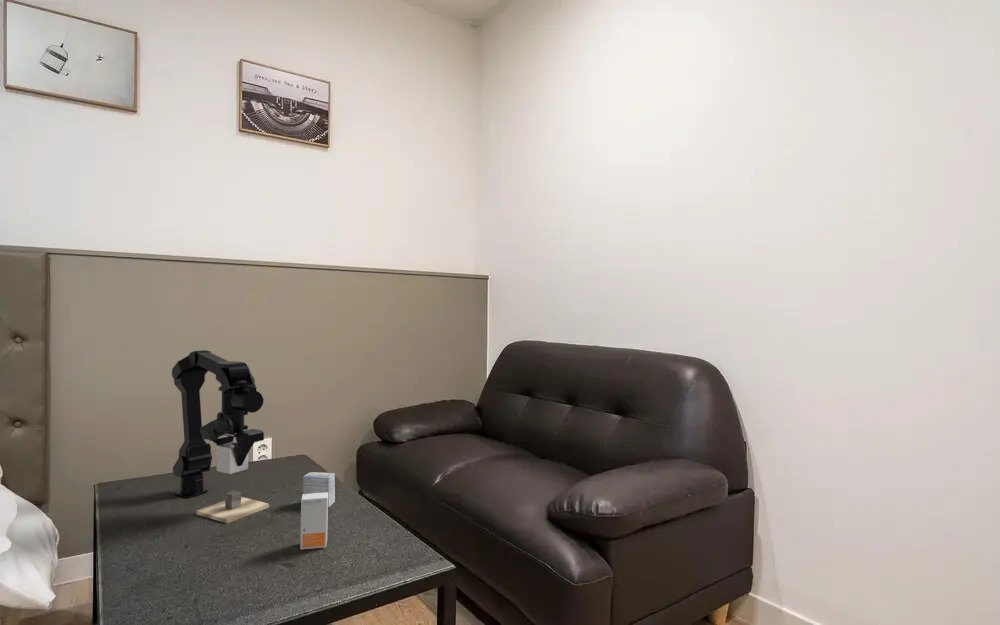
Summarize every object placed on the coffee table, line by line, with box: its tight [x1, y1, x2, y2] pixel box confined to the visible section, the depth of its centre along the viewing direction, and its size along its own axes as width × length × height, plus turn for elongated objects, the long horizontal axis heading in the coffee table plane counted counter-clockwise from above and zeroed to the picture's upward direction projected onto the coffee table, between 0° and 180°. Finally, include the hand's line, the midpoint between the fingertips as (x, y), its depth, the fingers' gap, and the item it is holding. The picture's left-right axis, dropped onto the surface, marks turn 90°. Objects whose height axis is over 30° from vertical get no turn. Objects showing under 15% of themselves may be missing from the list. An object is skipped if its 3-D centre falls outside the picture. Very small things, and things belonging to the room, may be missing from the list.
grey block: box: [216, 440, 249, 475], centre depth 150 cm, size 6×6×7 cm
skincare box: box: [299, 492, 329, 551], centre depth 129 cm, size 6×4×12 cm
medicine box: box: [302, 471, 336, 508], centre depth 156 cm, size 8×4×9 cm, turn 84°
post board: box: [195, 490, 270, 524], centre depth 150 cm, size 13×13×5 cm
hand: (232, 464), depth 150 cm, fingers closed on grey block, 6 cm apart
